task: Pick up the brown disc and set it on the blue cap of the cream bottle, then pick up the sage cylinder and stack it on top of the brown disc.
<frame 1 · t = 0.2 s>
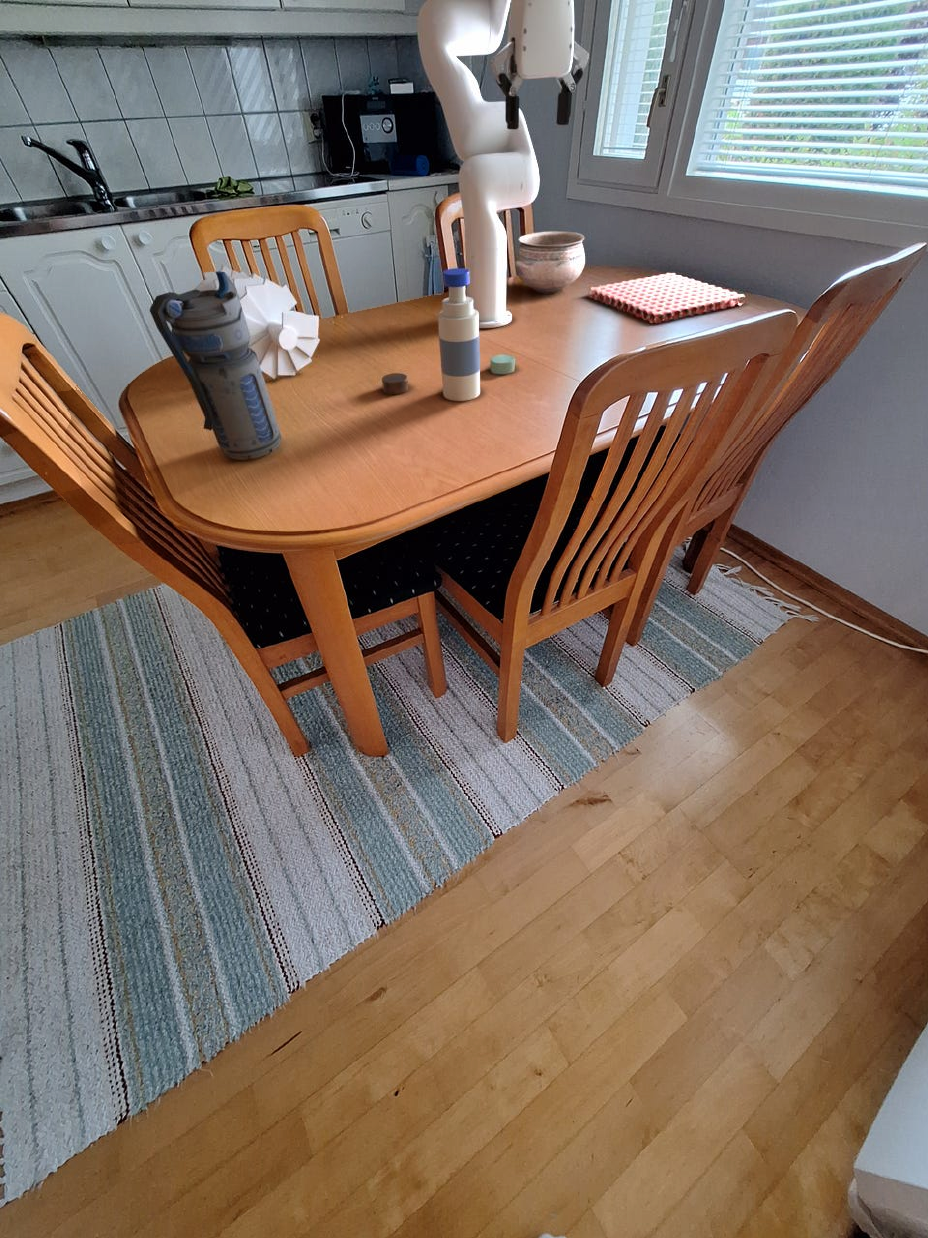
hand: (537, 126, 91), 36 cm above the table, tool pointing down, fingers open, 9 cm apart
sage cylinder: (502, 369, 110), on the table
beverage bottle: (249, 451, 90), on the table
brown disc: (395, 389, 105), on the table
cooking pot: (547, 291, 150), on the table
spiral staircase: (268, 366, 118), on the table
pink perforated square mat: (662, 301, 139), on the table
cream bottle: (461, 393, 103), on the table
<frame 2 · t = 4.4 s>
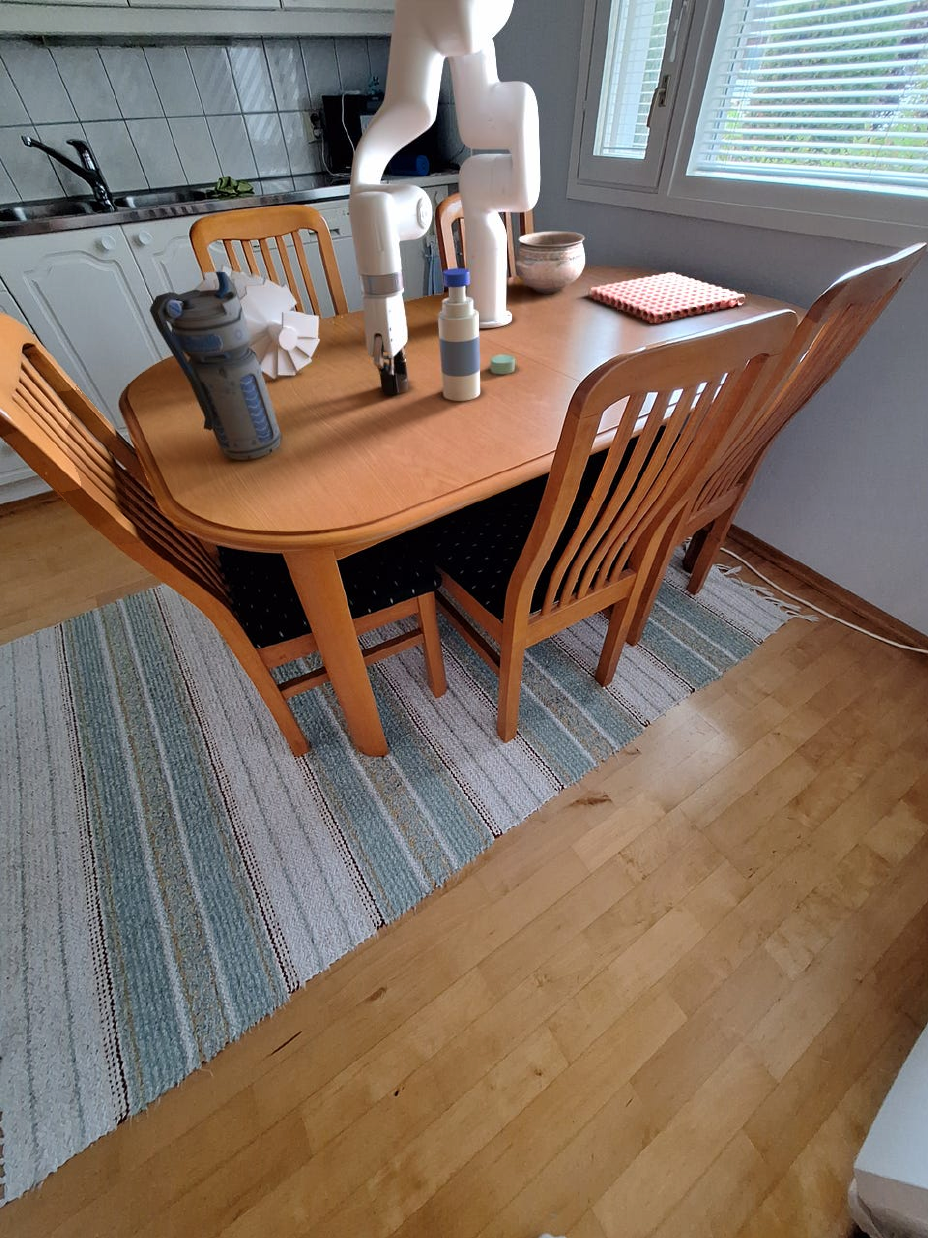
hand: (395, 386, 105), 0 cm above the table, tool pointing down, fingers closed on brown disc, 5 cm apart
brown disc: (395, 389, 106), on the table, touching gripper
everything else where it was.
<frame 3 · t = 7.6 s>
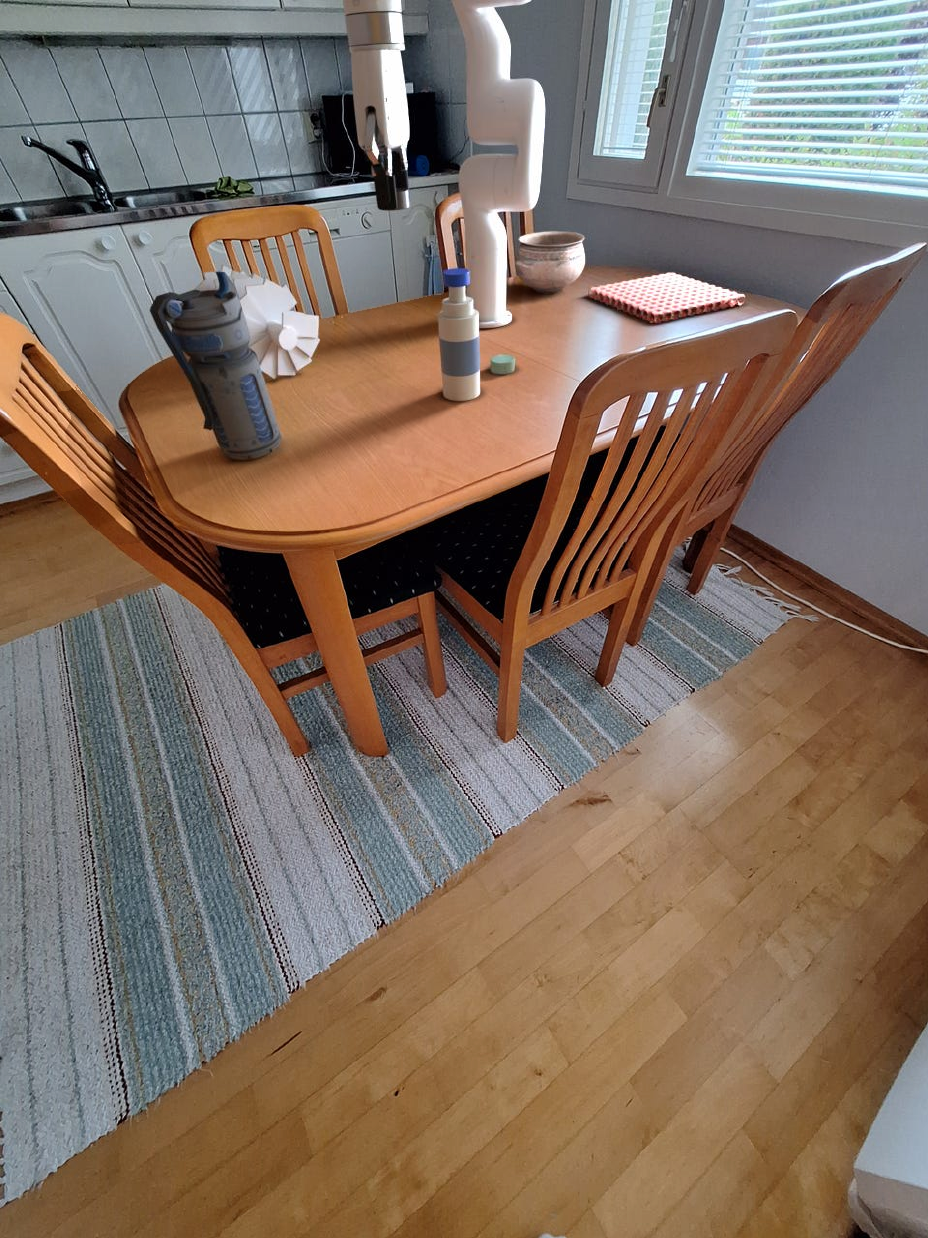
hand: (394, 204, 84), 29 cm above the table, tool pointing down, fingers closed on brown disc, 5 cm apart
brown disc: (394, 207, 84), point 29 cm above the table, touching gripper
everything else where it was.
when the fingers open (21 cm above the table, at t = 10.8 s): brown disc stays where it is, resting on cream bottle.
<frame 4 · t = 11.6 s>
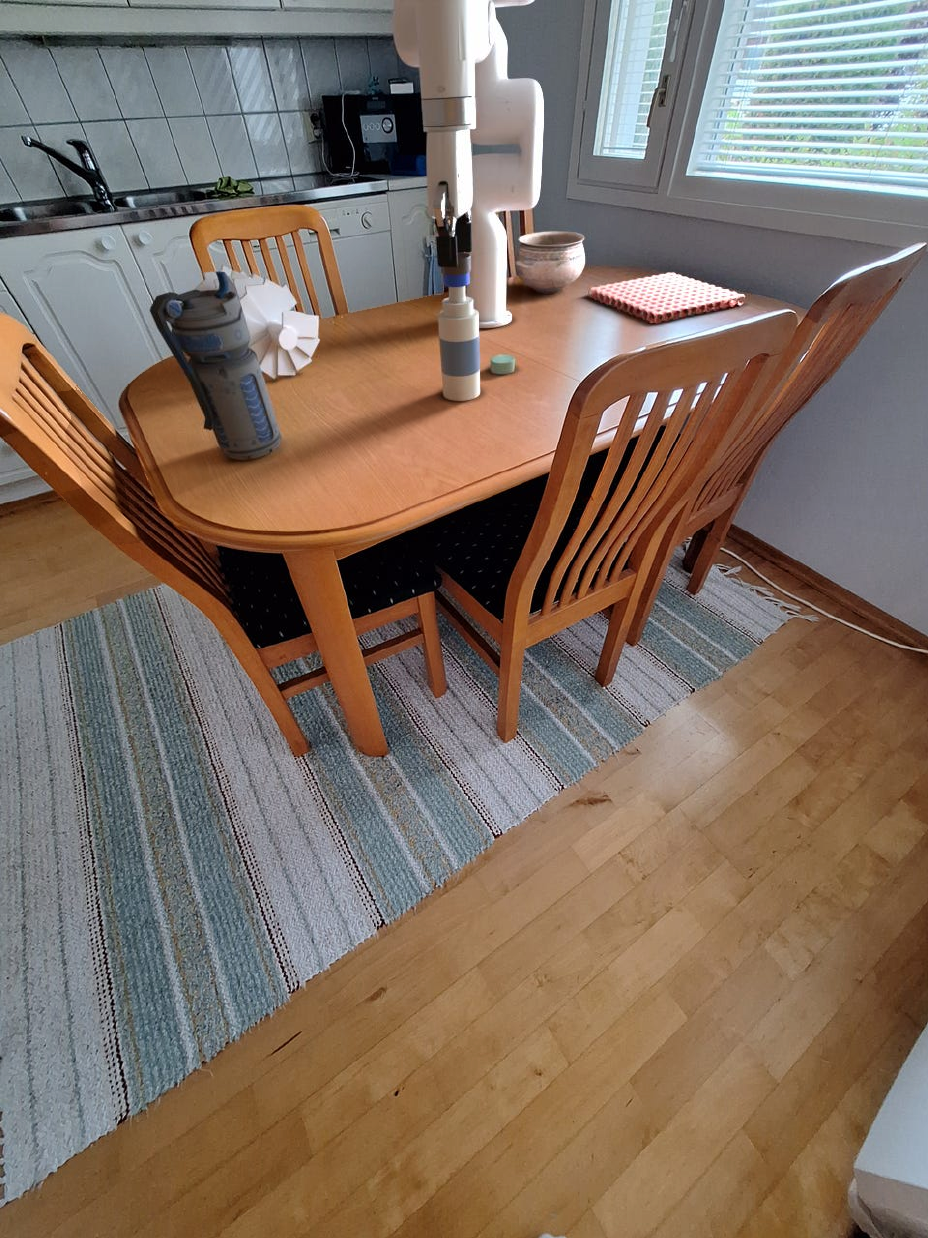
hand: (455, 258, 87), 22 cm above the table, tool pointing down, fingers open, 9 cm apart
brown disc: (456, 271, 88), point 20 cm above the table, touching cream bottle
cream bottle: (461, 393, 103), on the table, touching brown disc
everything else where it was.
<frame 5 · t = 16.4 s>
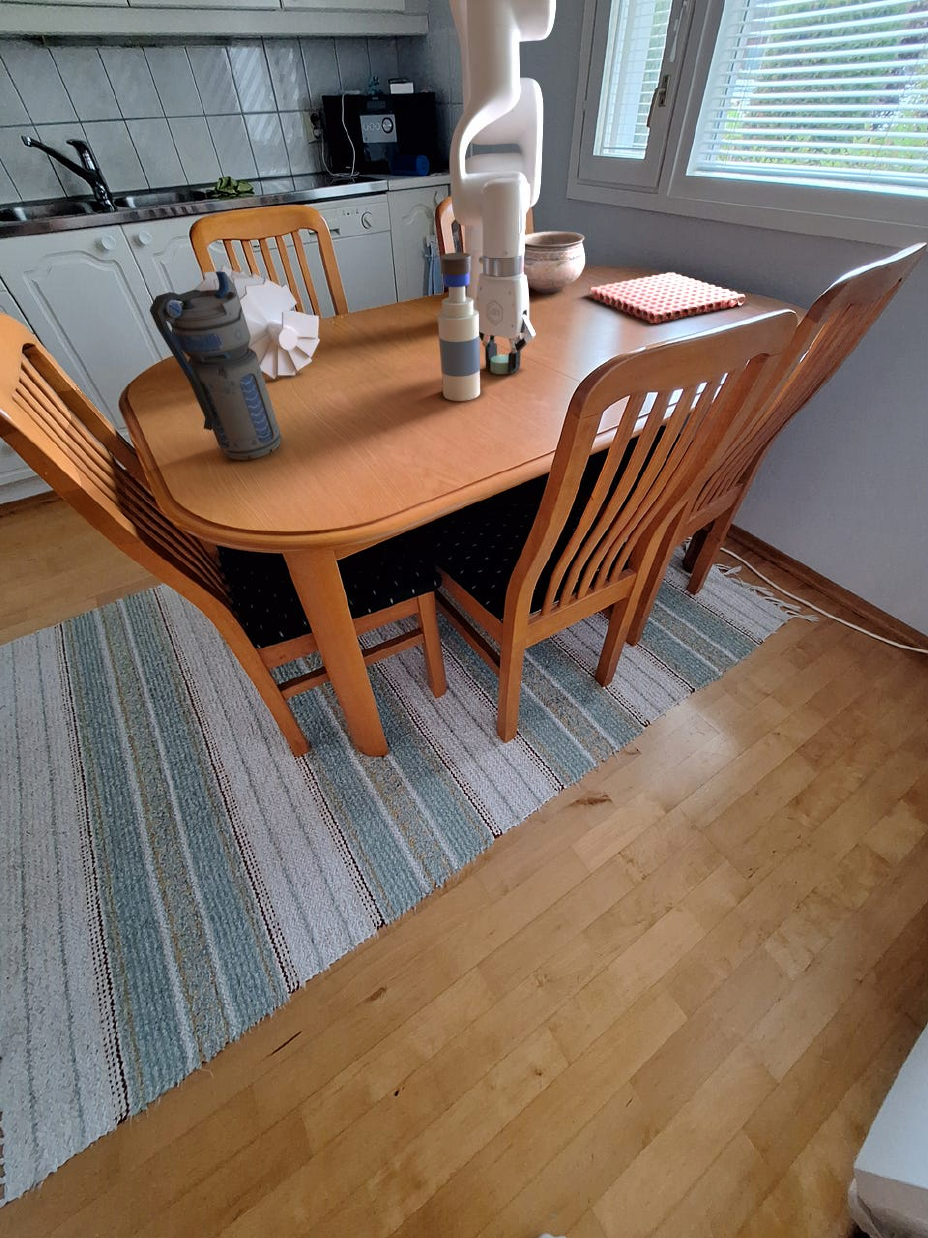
hand: (502, 367, 110), 0 cm above the table, tool pointing down, fingers closed on sage cylinder, 5 cm apart
sage cylinder: (502, 369, 110), on the table, touching gripper
everything else where it was.
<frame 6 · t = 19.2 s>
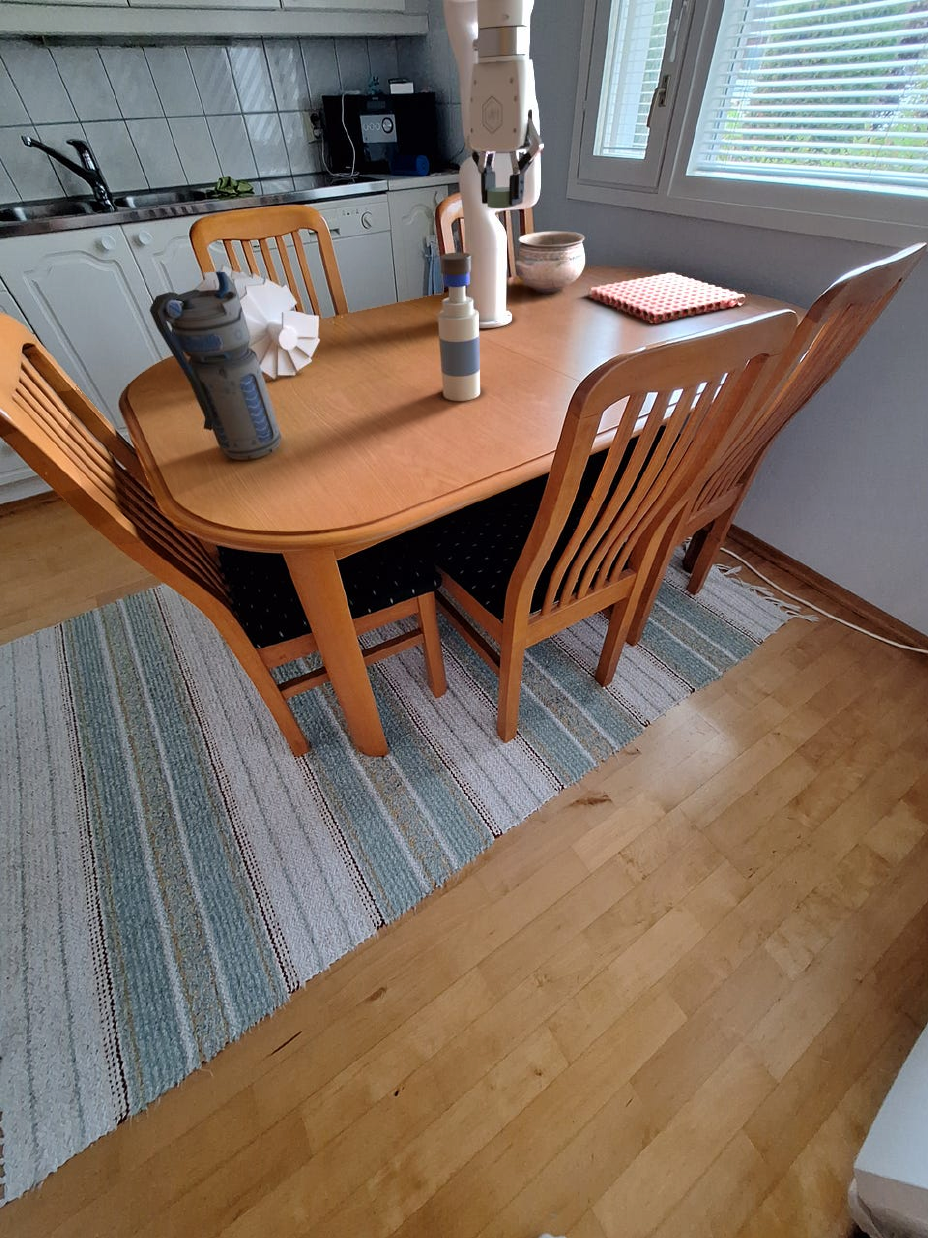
hand: (502, 202, 90), 28 cm above the table, tool pointing down, fingers closed on sage cylinder, 5 cm apart
sage cylinder: (502, 205, 91), point 27 cm above the table, touching gripper
everything else where it was.
when the fingers open (23 cm above the table, at t = 22.2 s): sage cylinder stays where it is, resting on brown disc.
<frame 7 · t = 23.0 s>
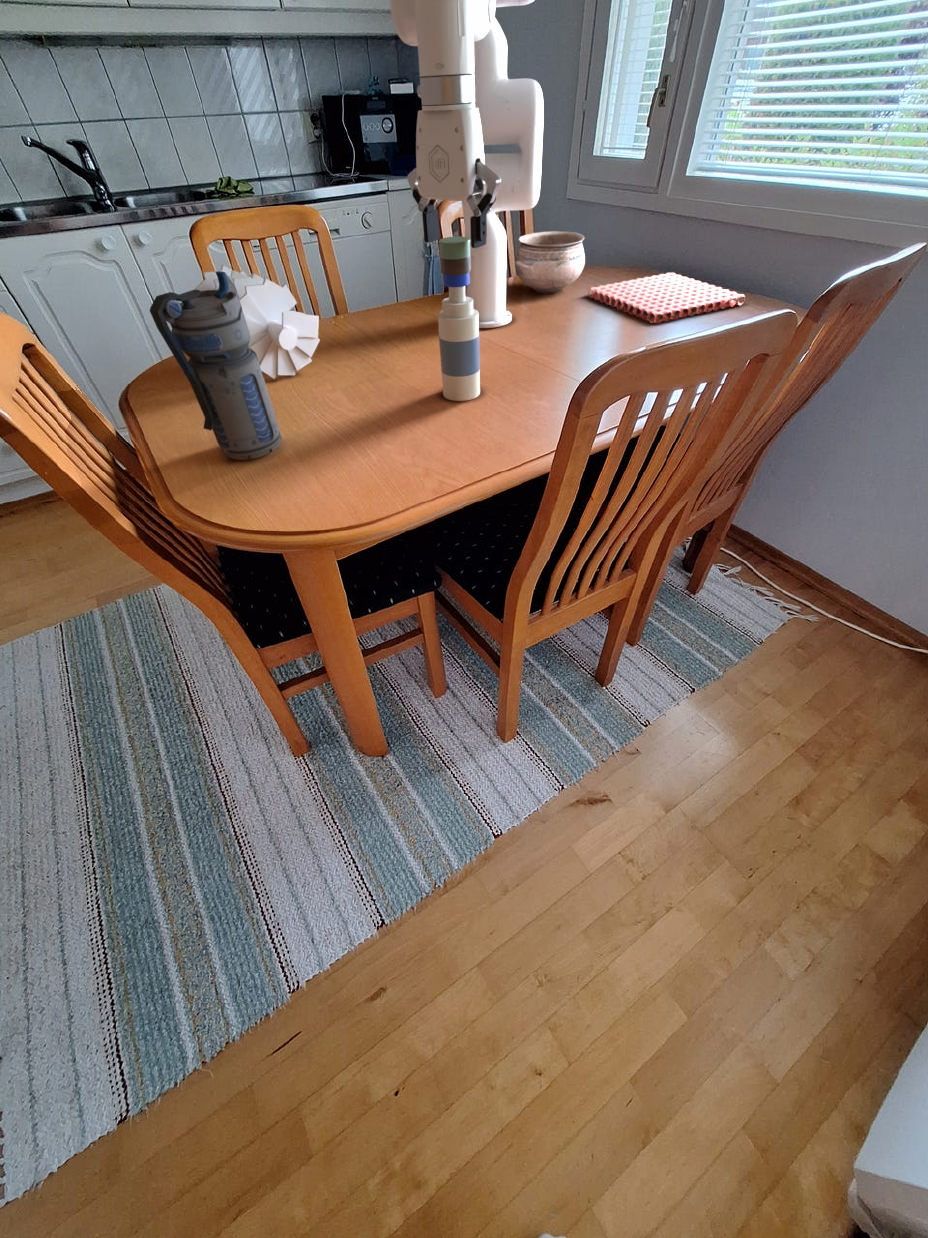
hand: (454, 243, 86), 24 cm above the table, tool pointing down, fingers open, 9 cm apart
sage cylinder: (455, 255, 87), point 22 cm above the table, touching brown disc
brown disc: (456, 271, 88), point 20 cm above the table, touching cream bottle, sage cylinder
everything else where it was.
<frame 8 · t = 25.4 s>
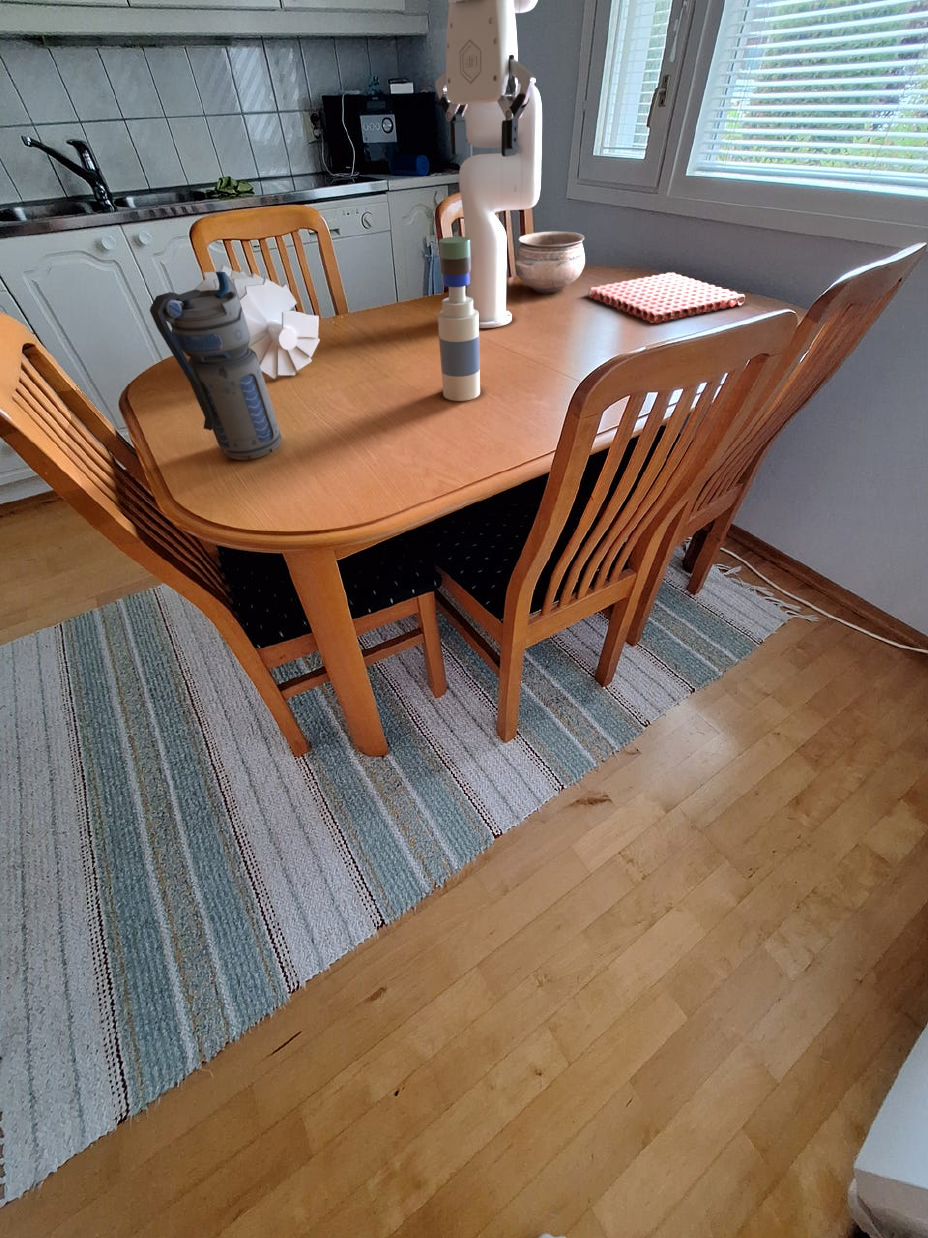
hand: (483, 154, 83), 34 cm above the table, tool pointing down, fingers open, 9 cm apart
nothing on the table moved.
at the end: brown disc 0.1 cm off-centre on the cream bottle, point 20.3 cm above the cream bottle's base; sage cylinder 0.0 cm off-centre on the brown disc, point 2.2 cm above the brown disc's base; cream bottle tilted 0° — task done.
